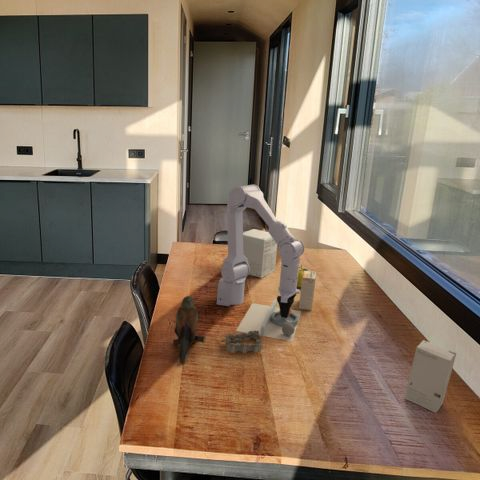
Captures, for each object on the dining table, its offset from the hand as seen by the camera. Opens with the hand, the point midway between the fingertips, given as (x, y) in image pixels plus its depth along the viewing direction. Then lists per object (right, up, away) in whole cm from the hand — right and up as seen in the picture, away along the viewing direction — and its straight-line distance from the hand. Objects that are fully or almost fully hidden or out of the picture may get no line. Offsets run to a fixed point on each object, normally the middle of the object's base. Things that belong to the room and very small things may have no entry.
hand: (285, 314), depth 144 cm
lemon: (+9, +5, +34) cm, 36 cm away
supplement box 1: (-8, +11, +50) cm, 52 cm away
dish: (0, -2, +1) cm, 2 cm away
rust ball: (0, +1, 0) cm, 1 cm away
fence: (-5, -3, +1) cm, 6 cm away
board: (-5, -3, +1) cm, 6 cm away
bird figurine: (-30, -7, -17) cm, 35 cm away
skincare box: (+31, -16, -36) cm, 50 cm away
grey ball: (0, -3, -9) cm, 10 cm away
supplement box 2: (+9, 0, +15) cm, 18 cm away
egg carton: (-14, -7, -16) cm, 23 cm away
